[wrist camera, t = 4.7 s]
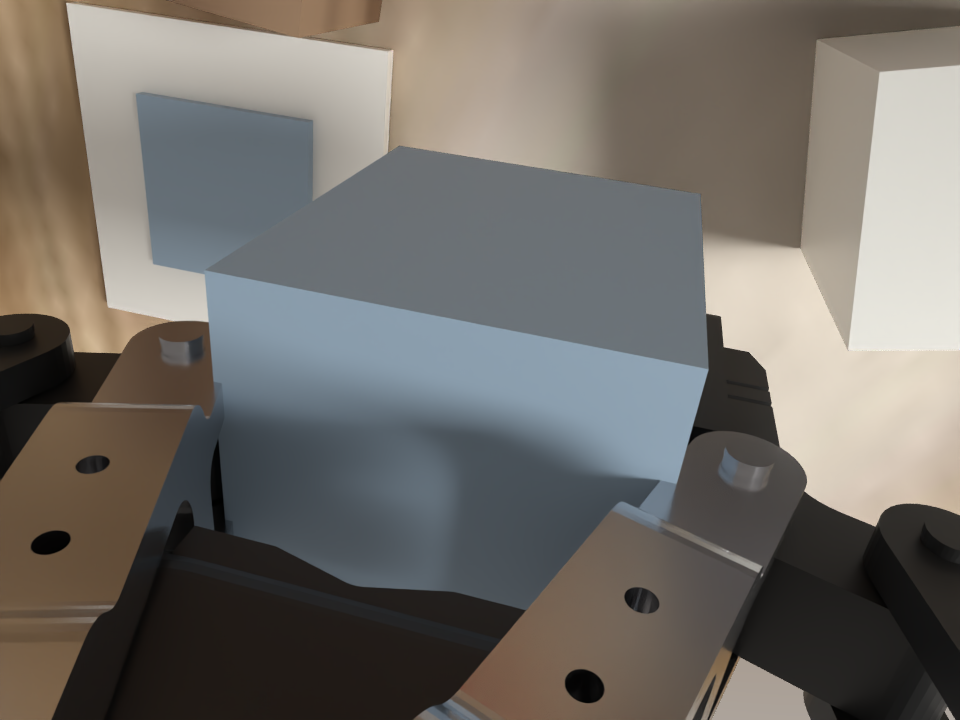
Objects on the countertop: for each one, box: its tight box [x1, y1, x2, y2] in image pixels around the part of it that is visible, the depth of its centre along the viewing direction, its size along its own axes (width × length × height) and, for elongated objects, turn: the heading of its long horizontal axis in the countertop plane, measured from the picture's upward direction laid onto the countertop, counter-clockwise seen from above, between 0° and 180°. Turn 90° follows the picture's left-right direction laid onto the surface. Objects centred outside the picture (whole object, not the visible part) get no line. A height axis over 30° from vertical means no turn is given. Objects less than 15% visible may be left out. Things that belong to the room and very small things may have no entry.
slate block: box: [204, 146, 709, 610], centre depth 11 cm, size 5×5×6 cm
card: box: [66, 2, 393, 322], centre depth 22 cm, size 9×9×1 cm
